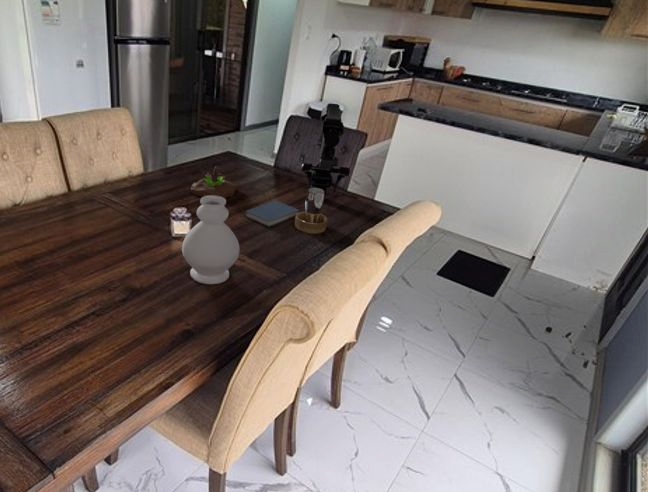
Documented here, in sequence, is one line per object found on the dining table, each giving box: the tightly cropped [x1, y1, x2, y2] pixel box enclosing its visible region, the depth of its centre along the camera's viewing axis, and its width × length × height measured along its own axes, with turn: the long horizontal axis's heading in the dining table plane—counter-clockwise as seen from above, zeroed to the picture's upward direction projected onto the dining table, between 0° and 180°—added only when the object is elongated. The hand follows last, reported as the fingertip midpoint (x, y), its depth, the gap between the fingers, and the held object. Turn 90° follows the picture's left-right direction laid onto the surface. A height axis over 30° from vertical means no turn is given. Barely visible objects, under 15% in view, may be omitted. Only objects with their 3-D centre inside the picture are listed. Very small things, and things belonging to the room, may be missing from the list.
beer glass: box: [304, 187, 325, 223], centre depth 179 cm, size 7×7×15 cm
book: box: [244, 200, 300, 228], centre depth 189 cm, size 19×13×2 cm
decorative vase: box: [181, 195, 240, 285], centre depth 140 cm, size 18×18×25 cm
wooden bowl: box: [293, 210, 329, 235], centre depth 182 cm, size 12×12×4 cm
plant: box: [190, 164, 238, 200], centre depth 206 cm, size 20×20×11 cm
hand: (321, 191), depth 184 cm, fingers open, 9 cm apart
